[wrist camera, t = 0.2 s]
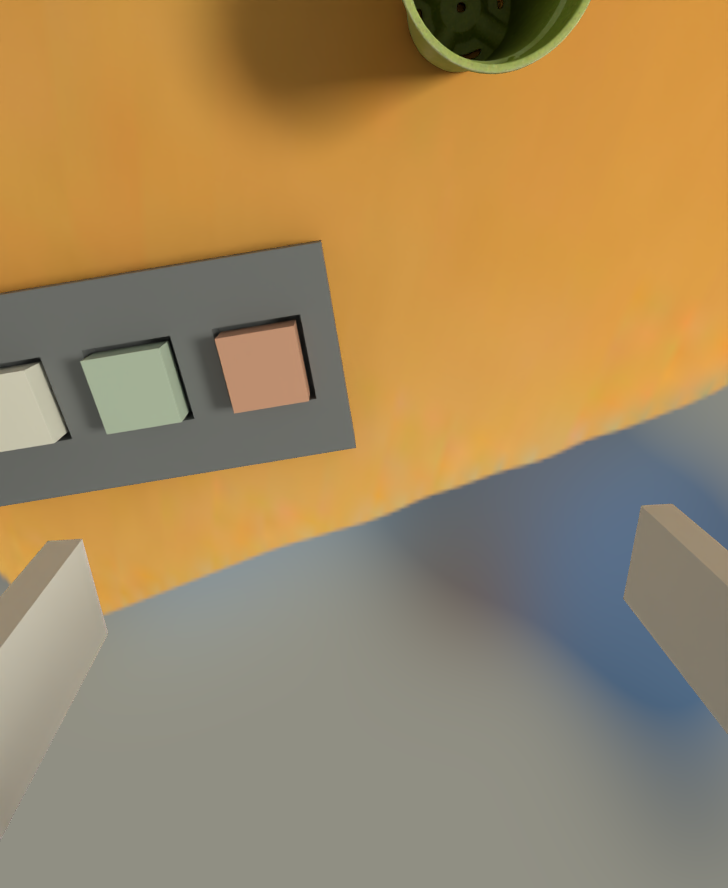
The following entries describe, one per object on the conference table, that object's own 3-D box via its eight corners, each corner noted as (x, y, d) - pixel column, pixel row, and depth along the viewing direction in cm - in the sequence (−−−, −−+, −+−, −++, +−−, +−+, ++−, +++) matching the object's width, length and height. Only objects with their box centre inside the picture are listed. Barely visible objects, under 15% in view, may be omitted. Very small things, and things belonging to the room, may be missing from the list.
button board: (-85, 307, 36) (-112, 313, 34) (320, 240, 36) (320, 242, 34) (3, 492, 41) (-16, 508, 39) (354, 434, 41) (356, 447, 39)
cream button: (-34, 373, 36) (-55, 383, 34) (41, 361, 36) (24, 370, 34) (-2, 442, 38) (-21, 455, 36) (69, 430, 38) (54, 443, 36)
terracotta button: (220, 331, 36) (214, 338, 34) (295, 319, 36) (293, 325, 34) (239, 402, 38) (234, 413, 36) (309, 391, 38) (309, 401, 36)
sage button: (93, 352, 36) (80, 361, 34) (168, 340, 36) (159, 348, 34) (118, 422, 38) (107, 434, 36) (189, 410, 38) (181, 422, 36)
